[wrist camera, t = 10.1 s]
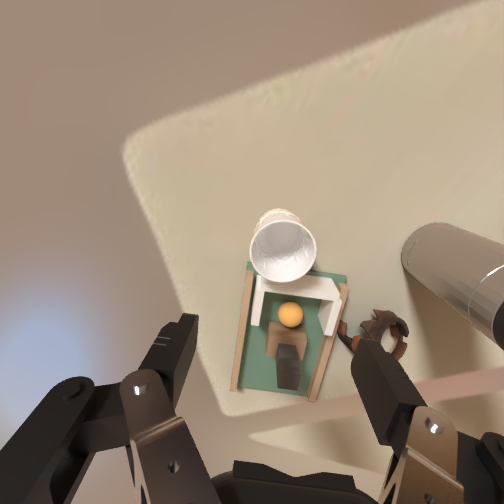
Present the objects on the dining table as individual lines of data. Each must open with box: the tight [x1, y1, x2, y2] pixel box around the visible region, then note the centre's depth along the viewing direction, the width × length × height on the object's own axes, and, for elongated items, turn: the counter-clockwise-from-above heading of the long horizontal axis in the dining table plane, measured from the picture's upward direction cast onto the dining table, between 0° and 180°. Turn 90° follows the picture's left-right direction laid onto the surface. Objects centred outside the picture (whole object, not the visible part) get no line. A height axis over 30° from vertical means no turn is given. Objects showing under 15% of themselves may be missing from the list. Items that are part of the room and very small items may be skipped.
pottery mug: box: [337, 309, 409, 360], centre depth 43 cm, size 12×10×8 cm
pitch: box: [230, 262, 349, 402], centre depth 44 cm, size 16×26×6 cm, turn 172°
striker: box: [265, 321, 307, 391], centre depth 40 cm, size 6×4×10 cm, turn 82°
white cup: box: [250, 208, 317, 283], centre depth 35 cm, size 8×8×10 cm
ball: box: [278, 302, 303, 327], centre depth 42 cm, size 4×4×4 cm
